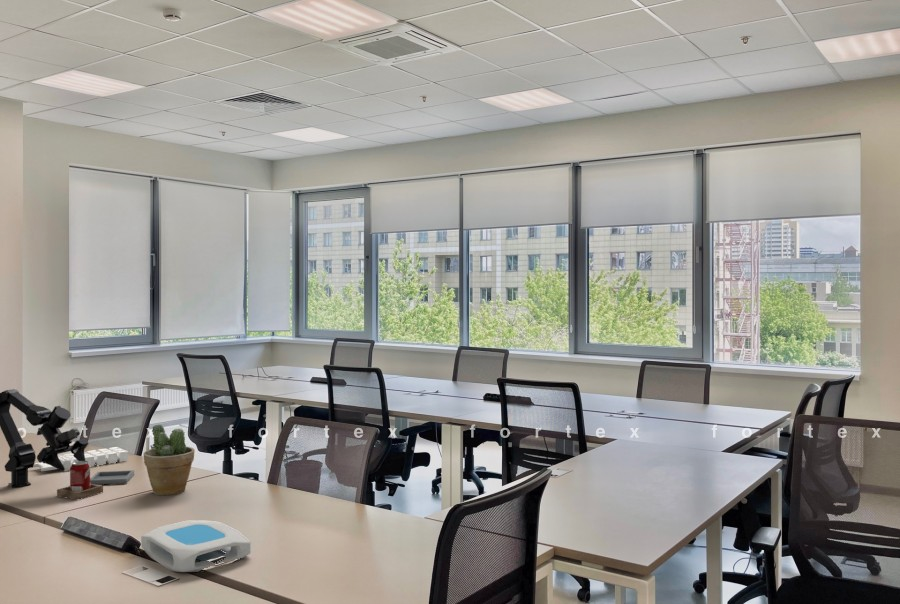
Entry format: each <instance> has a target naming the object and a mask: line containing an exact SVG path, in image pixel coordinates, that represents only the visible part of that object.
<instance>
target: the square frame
mask: <svg viewBox="0 0 900 604" xmlns="http://www.w3.org/2000/svg"><path fill="white" fill-rule="evenodd" d="M101 492H102V493H104V485H95V484H90V489H87V490H84V491H80V492H75V491H70V485H68V486H66V487H61V488H57V489H56V497H58V496H61V497H60V498H64V497H67V498H66V499H70V498H72V499H71V500H76V499H79V500H82V499H81V498H83V499H86V498H89V497H92V496H95V495H94V494H96V495H98V494H97V493H99V494H102V493H101ZM91 495H92V496H91ZM88 496H89V497H88ZM85 497H86V498H85Z"/></svg>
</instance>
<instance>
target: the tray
mask: <svg viewBox="0 0 900 604" xmlns="http://www.w3.org/2000/svg"><path fill="white" fill-rule="evenodd" d="M133 475H134V476H135V470H134V469H133V470H111V471H108V470H107V471H97V472H96V473H95V474H94V475H93V476H92V477H90V484H95V485H102V484H103V485H102V486H105V485H104V484H112V485H126V484H125V483H127V482H128V481H129V482H130V480H131V479H132V478H133V477H134V476H133ZM132 476H133V477H132ZM129 482H128V483H129ZM128 483H127V484H128Z"/></svg>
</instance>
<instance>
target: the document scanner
mask: <svg viewBox="0 0 900 604" xmlns="http://www.w3.org/2000/svg"><path fill="white" fill-rule="evenodd" d="M140 537H141V538H140V540H141V541H140V543H141V548H142V549H143V551H144V552H145V554H147V555H148V556H149V558H151V559H152V560H154V561H155V562H157V563H159V564H160V565H162V566H163V567H164V568H166V569H168V570H169V571H172V572H178V573H179V572H180V573H195V572H196V573H197V572H199V571H200V570H202V569H204V568H208V567H210V566H213V565H215V564H216V562H215V563H212V562H209V561H205V562H204V561H203V560H200V562H199V561H197V562H196V559H197V557H198V556H201V555H204V554H207V553H212V552H214V551H219V549H220V550H222V551H224V552H226V553H225V554H224V553H223V554H222V555H223V556H225V557H226V558H224V560H223V559H221V560H222V561H221V560H219V561H220V562H219V561H217V563H221V562H227V561H228V562H229V561H231V560H235V559H239V558H241V559H243V558H245V557H247V556H248V555H250V554H251V551H252V550H251V549H252V548H251V547H252V545H251V540H249V539H248V538H247V537H246V536H245V535H243V533H241V532H240V531H239V530H237V529H236V528H233V527H231V526H230V525H227V524H225V523H223V522H221V521H214V520H204V519H203V520H202V519H200V520H198V519H197V520H195V519H187V520H182V521H179V522H175V523H170V524H165V525H162V526H159V527H156V528H155V529H153V530H150V531H148V532H146V533H144V534H142V535H141V536H140ZM239 560H240V559H239Z"/></svg>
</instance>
